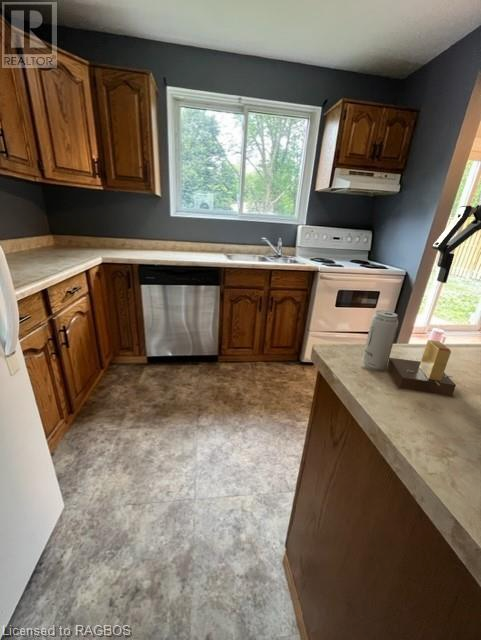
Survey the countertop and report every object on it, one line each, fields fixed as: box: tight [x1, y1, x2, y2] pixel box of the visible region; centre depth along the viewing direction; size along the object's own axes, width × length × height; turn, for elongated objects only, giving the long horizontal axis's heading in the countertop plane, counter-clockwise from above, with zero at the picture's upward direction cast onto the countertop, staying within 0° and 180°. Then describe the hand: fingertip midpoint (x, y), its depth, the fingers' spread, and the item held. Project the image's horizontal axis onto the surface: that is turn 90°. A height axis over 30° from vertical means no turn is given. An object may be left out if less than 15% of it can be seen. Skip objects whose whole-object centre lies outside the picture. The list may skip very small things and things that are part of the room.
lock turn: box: [419, 339, 452, 381], centre depth 63 cm, size 6×2×8 cm, turn 168°
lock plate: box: [386, 357, 457, 397], centre depth 65 cm, size 12×11×3 cm
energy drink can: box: [361, 310, 399, 372], centre depth 70 cm, size 6×6×15 cm
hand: (473, 283), depth 62 cm, fingers open, 13 cm apart
